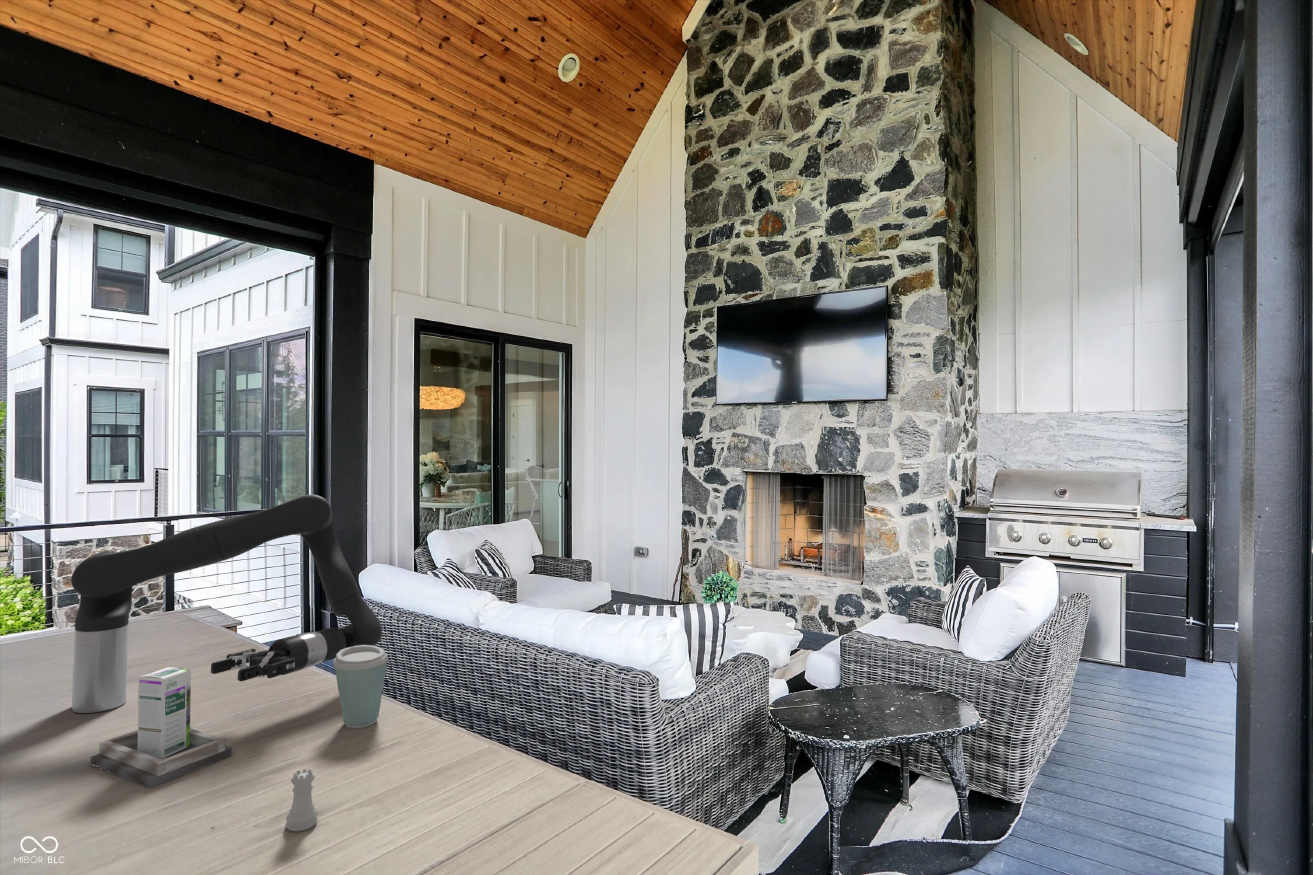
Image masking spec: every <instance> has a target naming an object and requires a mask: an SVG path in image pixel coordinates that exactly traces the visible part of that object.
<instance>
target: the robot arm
mask: <svg viewBox="0 0 1313 875" xmlns="http://www.w3.org/2000/svg"><path fill="white" fill-rule="evenodd" d="M333 517H334V515H333V510H332V508H331V504H330V503H329V502H328V500H327V499H326V498H324V497H323V496H320V495H317V494H305V495H301V496H299V497H296V498H294V499H292V500H289V501H286V502H283V503H280V504H278V505H276V506H272V507H269V508H267V509H264V510H260V511H256V512H255V511H254V512H251V513H246V514H240V515H237V516H232V517H227V518H224V519H220V520H219V519H218V520H216V521H214V522H213V521H211V522H208V523H206V524H202V525H198V526H193V527H192V528H189V529H186V530H182V531H179V532H177V533H175V534H172V535H171V536H167V537H165V538H163V539H160V540H158V541H156V542H154V543H151V544H148V545H146V546H145V545H144V546H142V547H138V548H134V549H129V550H125V551H119V552H118V551H114V550H103V551H101V552H97V553H95V554H93V555H91V556H89V557H86V559H83V560H82V561H81V562H80V563H79V564H77V566H76V567H75V569H74V570H73V572H72V575H71V578H70V582H71V583H70V584H71V586H72V588H73V590H74V591H75V592H76V593H77V594H79V595H80V598H79V599H80V600H79V605H78V606H79V607H78V610H77V613H76V615H75V620H74V640H73V642H74V643H73V644H74V646H73V665H72V691H71V692H72V693H71V694H72V696H71V707H72V708H71V711H72V712H74V713H77V714H92V713H99V712H100V713H101V712H104V711H105V712H106V711H109V710H113V709H115V708H118V707H120V706H123V705H124V704H125V703H127V686H128V685H127V684H128V657H129V656H128V655H129V654H128V652H129V649H128V648H129V622H130V621H129V619H130V613H131V609H132V602H133V601H132V600H133V586H136V585H139V584H142V583H144V582H147V581H150V580H153V579H156V578H161V577H164V576H168V575H169V576H170V575H173V574H178V573H183V572H188V571H191V570H195V569H200V568H202V567H206V566H207V567H208V566H210V565H213V564H217V563H220V562H224V561H227V560H229V559H233V558H237V557H238V556H240V555H243V554H245V553H247V552H249V551H251V550H253V549H256V548H258V547H259V546H261V545H263V544H266V543H268V542H271V541H274V540H277V539H280V538H284V537H289V536H294V535H298V534H299V535H300V536H301V537H302V539H303V540H304V541H305V543H306V545H307V547H308V549H309V551H310V553H311V555H312V557H313V559H314V561H315V562H314V563H315V566H316V568H317V573H318V576H319V578H320V582H321V586H322V588H323V591H324V592H325V596H326V598H327V601H328V603H329V606H330V608H331V610H332V612H333V614H334V615H335V616H336V617H346V619H348V621H349V622H350V623H349V624H347V625H344V626H342V627H339V628H335V627H330V628H324V629H321V630H317V631H311V632H303V633H300V634H295V635H291V636H287V637H283V638H279V639H276V640H274V641H273V642H272V643H271V645H270V647H269V648H268V649H260V650H257V649H256V648H250V649H246V650H242V651H237V652H231V653H228V654H226V659H222V660H217V661H214V662H212V663H211V665H210V673H211V674H212V675H216V674H221V673H223V672H227V671H231V670H232V671H233V670H238V669H239V670H238V671H237V681H238V682H244V681H248V680H252V679H256V678H259V679H260V678H264V677H266V678H267V679H272V678H275V677H279V676H285V675H289V674H292V673H294V672H295V673H296V672H298V671H302V670H306V669H308V668H311V667H312V668H313V667H314V666H316V665H319V664H321V663H324V662H327V661H330V660H332V661H333V660H334V659H335V658H336V654H337V653H338V652H339V651H340V650H342V649H345V648H348V647H353V646H359V645H371V646H376V645H377V644H378V643H379V642H380V641H381V639H382V636H383V628H382V625H381V621H380V620H379V618H378V617H377V615H376V614H375V613H374V612H373V610H372V609H371V607H370V606H369V605H368V604H367V603H366V601H365V600H364V598H363V597H362V594H361V592H360V589H359V586H358V584H357V581H356V580H355V577H354V574H353V572H352V571H351V568H350V567H349V564H348V563H347V560H346V558H345V557H344V554H343V552H342V550H341V547H340V545H339V542H338V539H337V538H338V537H337V534H336V531H335V526H334V521H333ZM256 650H257V651H256ZM247 663H248V664H249V665H247Z"/></svg>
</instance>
